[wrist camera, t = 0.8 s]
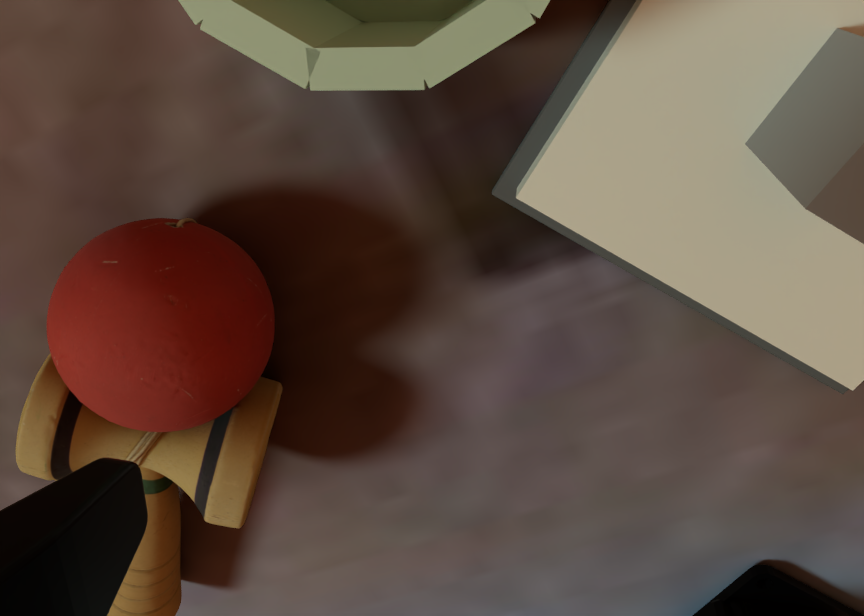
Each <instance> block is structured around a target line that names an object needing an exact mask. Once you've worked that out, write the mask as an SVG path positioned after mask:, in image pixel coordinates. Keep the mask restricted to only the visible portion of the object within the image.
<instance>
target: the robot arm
mask: <svg viewBox="0 0 864 616" xmlns="http://www.w3.org/2000/svg"><path fill="white" fill-rule="evenodd" d="M147 522H148V511H147V505H146V498H145V492H144V486H143V480H142V473H141V470H140V467H139V466H138V465H137V464H136V463H134V462H133V461H127V460H121V459H115V458H109V457H105V458H99V459H97V460H95V461H93V462H91V463H89V464H87V465H85V466H83V467H81V468H80V469H78V470H76V471H74V472H72V473H70V474H68V475H66V476H64V477H63V478H61V479H59V480H57V481H55V482H53V483H51V484H49V485H48V486H46V487H44V488H42V489H40V490H38V491H36V492H34V493H32V494H31V495H29V496H27V497H25V498H23V499H21V500H19V501H17V502H16V503H14V504H12V505H10V506H8V507H6V508H4V509H2V510H1V511H0V616H107V615H108V613H109V611H110V608H111V606H112V604H113V602H114V600H115V597H116V595H117V593H118V591H119V589H120V586H121V584H122V582H123V580H124V578H125V576H126V573H127V571H128V569H129V567H130V565H131V562H132V560H133V558H134V556H135V554H136V551H137V549H138V547H139V545H140V543H141V540H142V538H143V536H144V533H145V530H146V527H147ZM761 579H763V580H761ZM693 616H864V615H862V614H860V613H859V612H857V611H855V610H853V609H851V608H849V607H847V606H845V605H843V604H841V603H840V602H838V601H836V600H834V599H832V598H830V597H828V596H826V595H824V594H822V593H821V592H819V591H817V590H815V589H813V588H811V587H809V586H807V585H805V584H803V583H802V582H800V581H798V580H796V579H794V578H792V577H790V576H788V575H786V574H784V573H783V572H781V571H779V570H777V569H775V568H773V567H771V566H768V565H756V566H753V567H751V568H750V569H748V570H747V571H746V572H745V573H744V574H742V575H741V576H740V577H739V578H738V579H736V580H735V581H734V582H733V583H732V584H730V585H729V586H728V587H727V588H726V589H724V590H723V591H722V592H721V593H720V594H718V595H717V596H716V597H715V598H713V599H712V600H711V601H710V602H709V603H707V604H706V605H705V606H704V607H703V608H701V609H700V610H699V611H698V612H697V613H695V614H694V615H693Z"/></svg>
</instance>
